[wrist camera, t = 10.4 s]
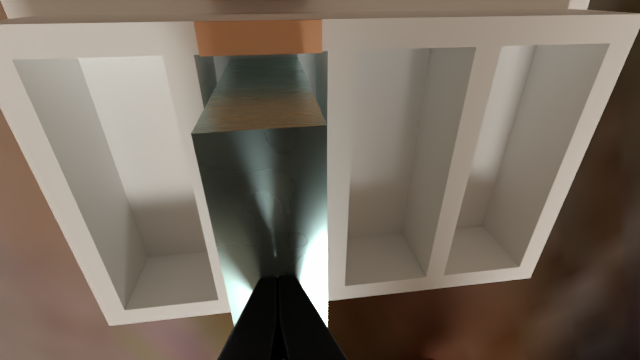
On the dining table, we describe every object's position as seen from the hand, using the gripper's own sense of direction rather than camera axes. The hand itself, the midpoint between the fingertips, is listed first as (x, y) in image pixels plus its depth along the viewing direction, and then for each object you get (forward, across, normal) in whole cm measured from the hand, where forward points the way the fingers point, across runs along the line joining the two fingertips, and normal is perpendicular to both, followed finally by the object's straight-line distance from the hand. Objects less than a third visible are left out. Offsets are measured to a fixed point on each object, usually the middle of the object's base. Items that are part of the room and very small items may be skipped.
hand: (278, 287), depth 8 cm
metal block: (+7, 0, 0) cm, 7 cm away
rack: (+8, -2, -1) cm, 8 cm away
